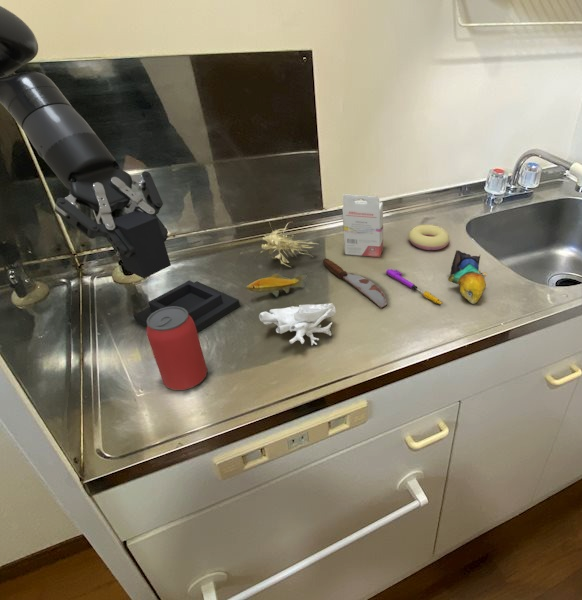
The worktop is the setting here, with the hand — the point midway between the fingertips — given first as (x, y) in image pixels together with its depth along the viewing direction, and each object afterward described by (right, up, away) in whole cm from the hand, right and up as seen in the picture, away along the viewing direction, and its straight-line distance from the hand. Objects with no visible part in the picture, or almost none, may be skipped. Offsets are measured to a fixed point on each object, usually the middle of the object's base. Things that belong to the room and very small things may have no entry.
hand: (148, 246), depth 68 cm
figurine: (+51, -5, +31) cm, 60 cm away
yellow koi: (+12, -7, +27) cm, 30 cm away
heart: (+19, -14, +17) cm, 29 cm away
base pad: (-3, -10, +21) cm, 23 cm away
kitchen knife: (+27, -4, +32) cm, 42 cm away
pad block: (-2, -3, +3) cm, 5 cm away
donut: (+43, +6, +47) cm, 65 cm away
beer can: (+2, -20, +7) cm, 22 cm away
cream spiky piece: (+11, +1, +38) cm, 40 cm away
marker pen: (+40, -5, +31) cm, 50 cm away
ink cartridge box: (+28, +4, +43) cm, 51 cm away
